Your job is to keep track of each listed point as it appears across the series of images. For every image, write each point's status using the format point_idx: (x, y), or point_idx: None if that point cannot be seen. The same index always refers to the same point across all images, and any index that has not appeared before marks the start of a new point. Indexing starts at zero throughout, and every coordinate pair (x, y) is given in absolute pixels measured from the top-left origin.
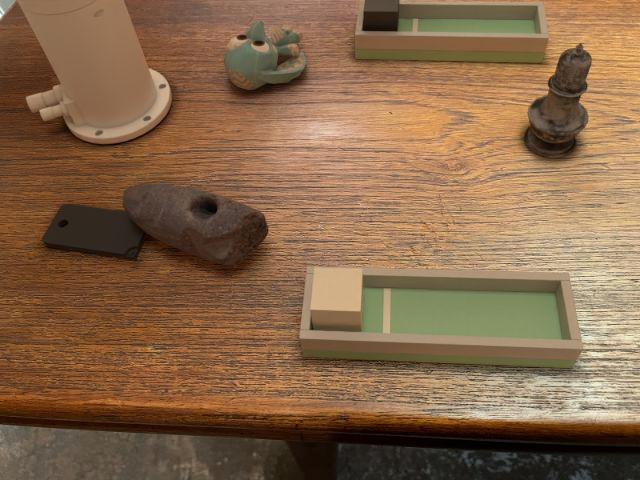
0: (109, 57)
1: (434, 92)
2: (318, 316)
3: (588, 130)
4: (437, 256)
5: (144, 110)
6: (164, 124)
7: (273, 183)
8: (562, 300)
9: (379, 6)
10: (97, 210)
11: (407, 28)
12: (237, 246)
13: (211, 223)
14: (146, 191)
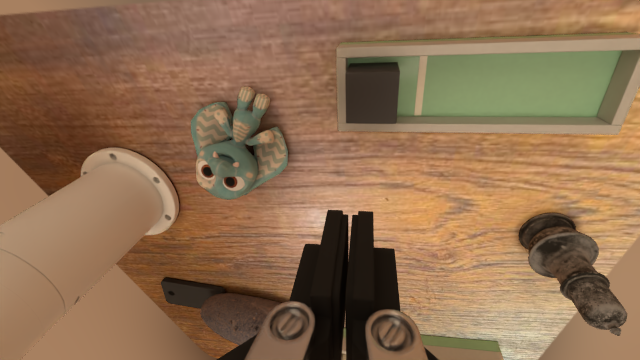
0: (111, 267)
1: (436, 171)
2: None
3: (595, 222)
4: (420, 317)
5: (160, 214)
6: (183, 209)
7: (295, 264)
8: None
9: (368, 111)
10: (185, 286)
11: (410, 78)
12: None
13: None
14: (218, 333)
